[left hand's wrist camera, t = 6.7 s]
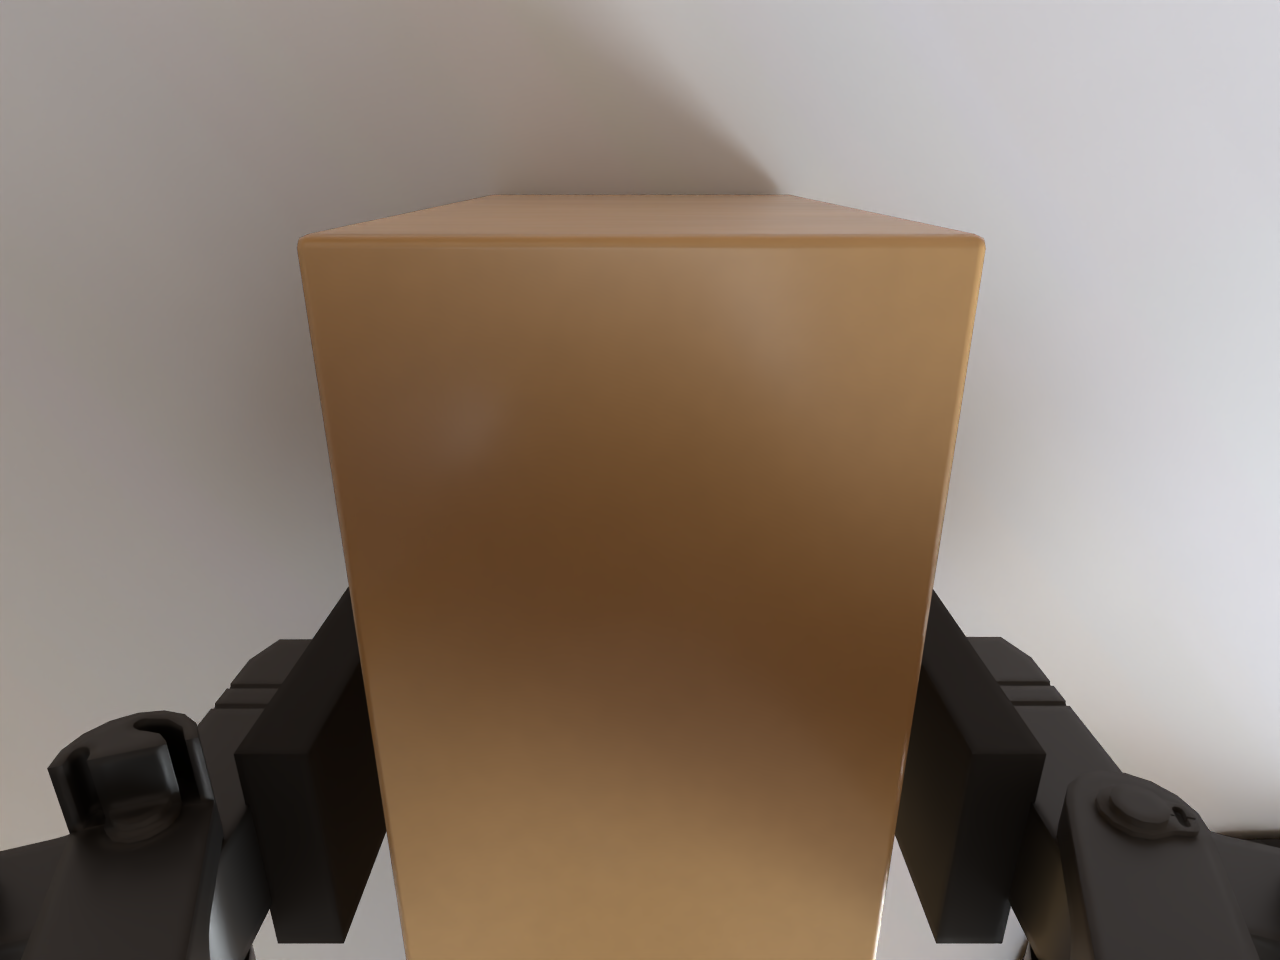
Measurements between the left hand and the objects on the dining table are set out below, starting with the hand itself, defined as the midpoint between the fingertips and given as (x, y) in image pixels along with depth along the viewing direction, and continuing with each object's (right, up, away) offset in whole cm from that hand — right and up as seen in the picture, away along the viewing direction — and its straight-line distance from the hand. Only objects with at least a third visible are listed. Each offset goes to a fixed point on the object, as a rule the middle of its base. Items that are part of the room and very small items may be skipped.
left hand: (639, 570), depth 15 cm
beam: (0, -18, +8) cm, 20 cm away
